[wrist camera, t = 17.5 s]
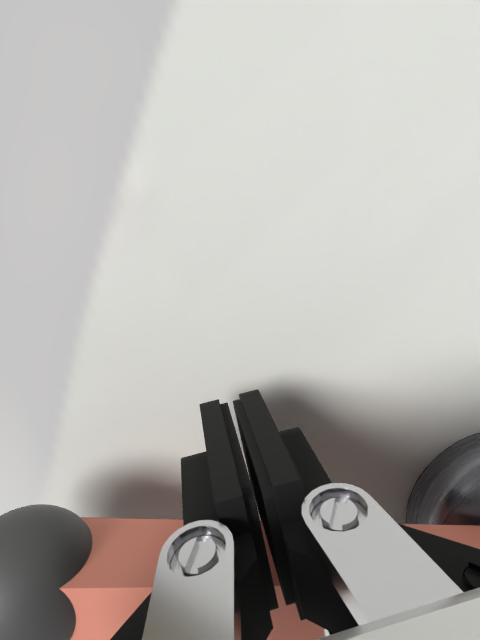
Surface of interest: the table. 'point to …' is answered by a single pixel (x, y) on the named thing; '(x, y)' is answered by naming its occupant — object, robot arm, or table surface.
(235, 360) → the table surface
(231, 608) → the robot arm
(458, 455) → the lever base
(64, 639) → the lever
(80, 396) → the table surface
